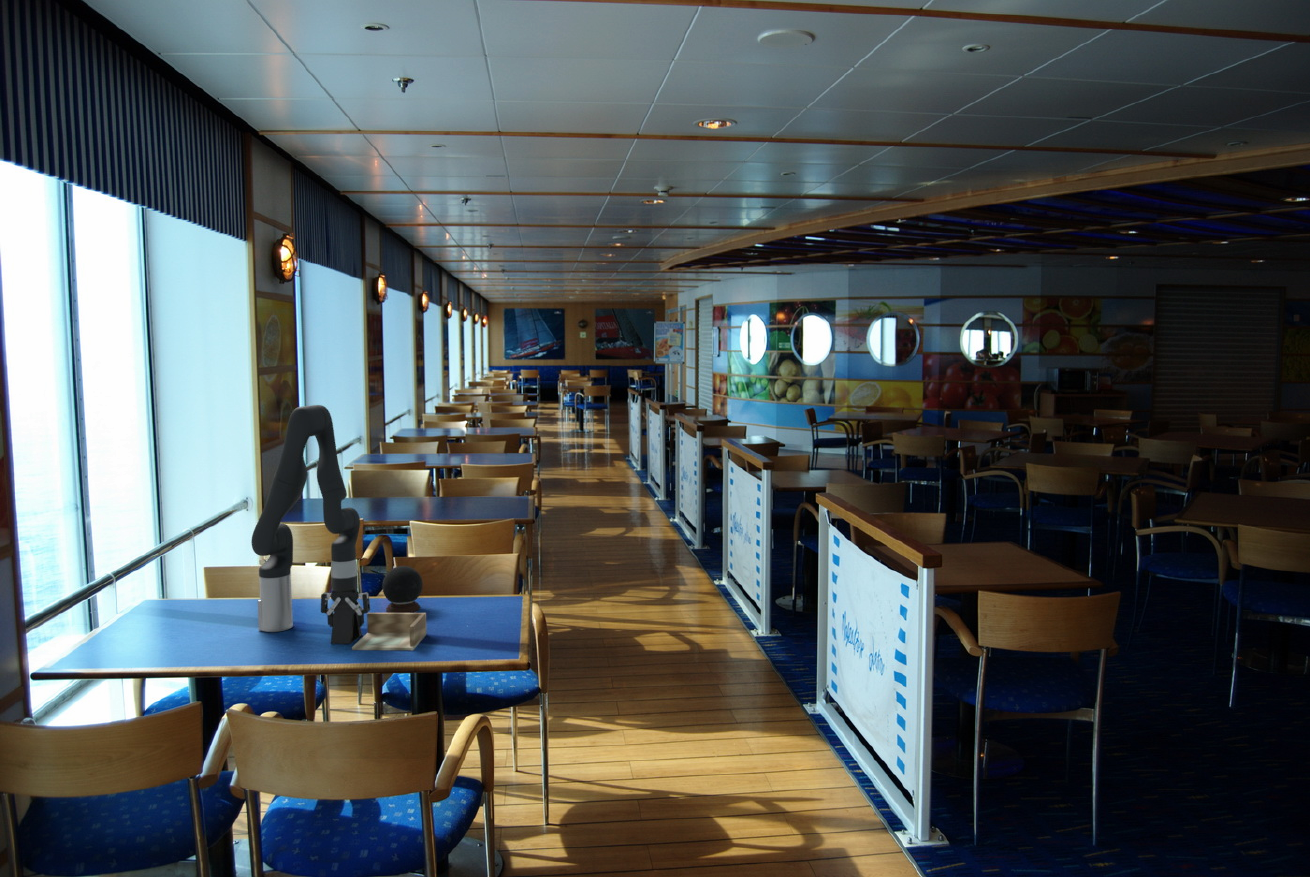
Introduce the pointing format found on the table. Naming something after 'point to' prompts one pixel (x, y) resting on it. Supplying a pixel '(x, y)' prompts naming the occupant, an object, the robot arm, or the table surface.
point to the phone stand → (345, 625)
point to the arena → (393, 631)
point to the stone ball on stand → (402, 589)
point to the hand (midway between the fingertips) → (346, 626)
